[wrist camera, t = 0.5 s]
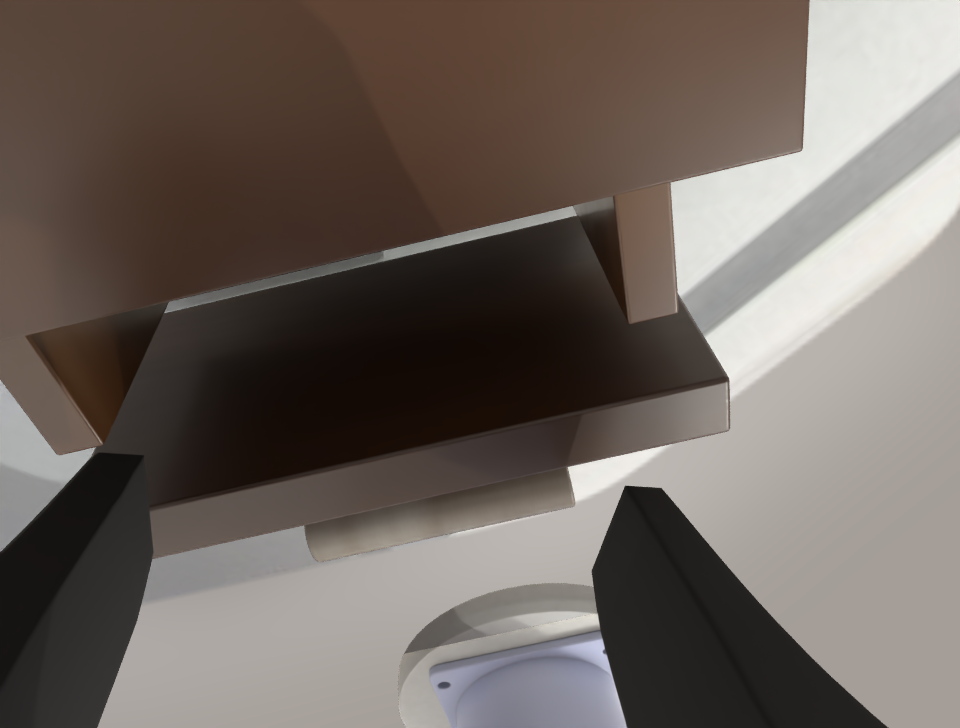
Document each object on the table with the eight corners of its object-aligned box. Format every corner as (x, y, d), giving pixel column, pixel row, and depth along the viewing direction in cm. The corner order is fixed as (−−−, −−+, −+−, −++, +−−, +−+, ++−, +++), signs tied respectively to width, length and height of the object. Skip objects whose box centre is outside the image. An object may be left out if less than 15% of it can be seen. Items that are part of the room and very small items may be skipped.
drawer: (642, 373, 21) (734, 575, 15) (239, 464, 21) (187, 691, 16) (539, -613, 10) (708, -1094, 5) (-237, -390, 11) (-870, -595, 5)
